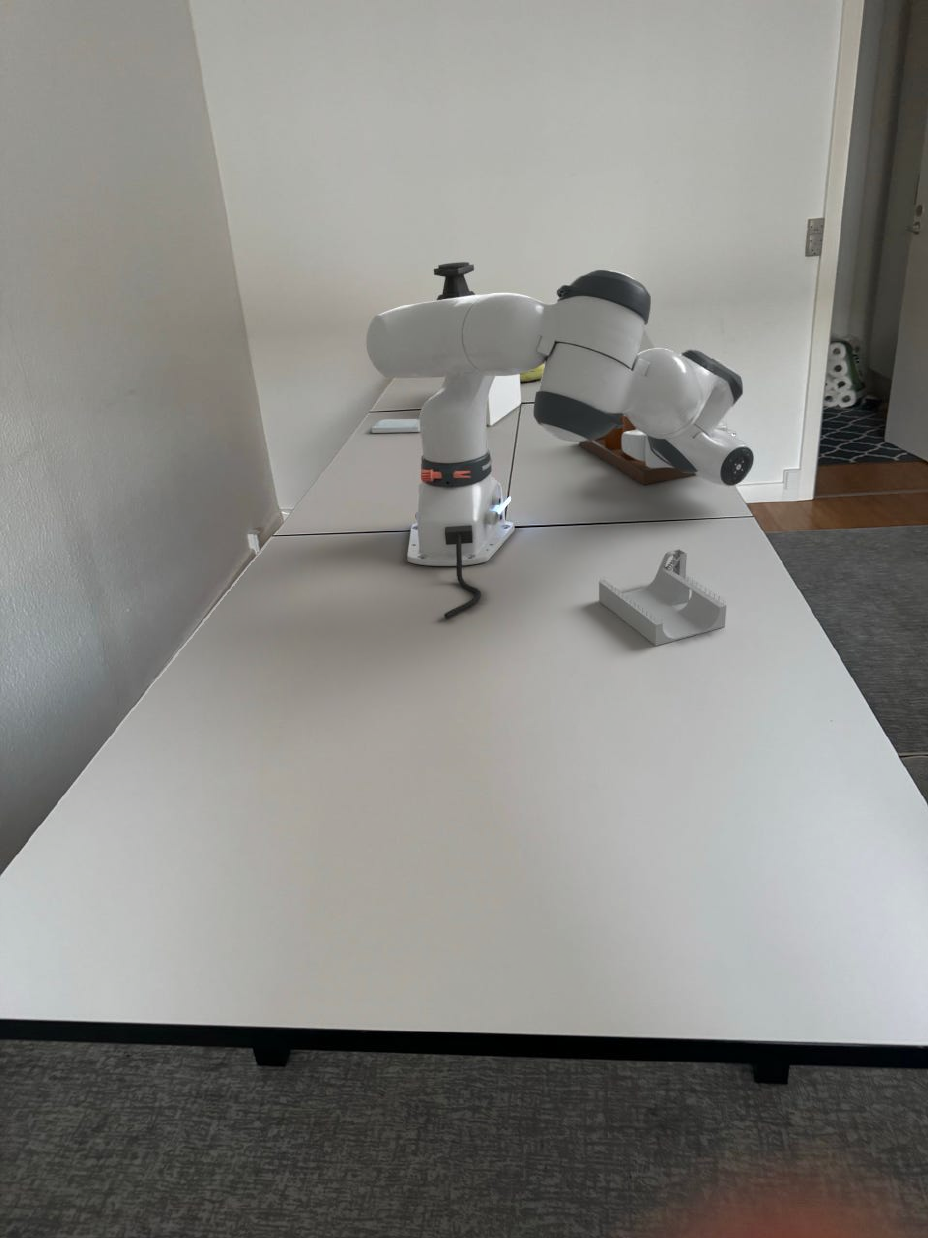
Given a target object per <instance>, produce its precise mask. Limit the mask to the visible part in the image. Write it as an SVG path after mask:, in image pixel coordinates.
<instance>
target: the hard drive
mask: <svg viewBox="0 0 928 1238" xmlns="http://www.w3.org/2000/svg"><path fill="white" fill-rule="evenodd" d="M371 432H372V434H386V433H387V434H390V433H391V434H392V433H394V434H395V433H396V434H397V433H421V430H420V421H419V418H395V419H394V418H391V419H389V418H388V419H386V418H385V419H380V420H378V421H377V423H376V424H374V425H372V427H371Z"/></svg>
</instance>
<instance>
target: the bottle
mask: <svg viewBox="0 0 928 1238" xmlns="http://www.w3.org/2000/svg"><path fill="white" fill-rule="evenodd" d="M474 271H475V264H470V262H468V261H461V262H449V263H442V264H438V265H437V267H436V268H433V275H434V276H439V277H444V282H443V287H442V293H441V294H439V295H438V296H437V298H436V299H435V301H437V300H444V299H451V298H458V297H464V296H471V295H477V294H476V292H474V291H473V290H470V289H469V286H468V283H467V280H466V277H465V275H466V274H469V273H471V272H474Z"/></svg>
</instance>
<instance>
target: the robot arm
mask: <svg viewBox="0 0 928 1238" xmlns="http://www.w3.org/2000/svg"><path fill="white" fill-rule="evenodd" d="M556 295H557V297H558V299H557V300H556V302H554V303H547V302H543V301H541V300H538V299H537V298H534V297H532V296H529V295H525V294H521V293H515V292H494V293H487V294H476V295H471V296H464V297H458V298H451V299H444V300H437V299H436V300H437V301H436V300H431V301H424V302H419V303H411V304H404V305H401V306H399V307H398V306H397V307H395V308H392V309H389V310H387V311H384V312H382V313H380V314H379V313H378V314H377V315H375V316H374V317H373V318H372V320H371V322H370V323H369V326H368V329H367V333H366V339H365V343H366V345H365V346H366V351H367V355H368V358H369V360H370V362H371V364H372V365H373V367H374V368H375V369H376V371H377V372H379V373H380V374H381V376H383V377H385V378H389V379H428V378H429V379H431V378H444V380H443V382H442V384H441V386H440V388H439V389H438V391H437V392H435V393H434V394H433V395H432V396H430V397H429V398H428V399H427V400H426V401H425V402H424V404H423V405H422V407H421V409H420V413H419V417H418V419H419V421H420V430H421V431H420V439H421V446H422V455H421V462H420V481H421V482H420V484H419V485H418V493H419V494H418V504H417V512H415V514H414V515H415V519H416V521H417V522H415V523H413V524H412V525H411V526H410V531H409V538H408V539H409V540H408V546H407V553H406V561H407V562H409V563H411V564H415V565H422V566H430V567H431V566H432V567H456V578H457V582H458V583H459V585H460V586H461V587H462V588H463V589H464V590H466V591H468V592H470V593H473V594H474V597H473V598H471V599H470V600H468V601H467V602H465V603H463V604H460V605H459V606H457V607H455V608H453V609H451V610H449V611H446V613H444V615H443V616H444V618H445V619H446V620H448V619H450V618H452V617H453V616H455V615H457V614H459V613H462V612H464V611H466V610H467V609H469V608H472V607H473V606H475V605H476V604H477V603H478V602H479V601H480V599H481V597H482V593H481V590H480V589H478V588H476V587H474V586H471V585H469V584H468V583H466V582H465V580H464V577H463V566H470V565H478V564H482V563H486V562H488V561H489V560H491V558H492V557H493V556H494V555H495V554H496V553H497V551H498V550H499V549H500V548H501V547H502V545H504V543H505V542H506V541H507V540H508V539H509V538H510V537H511V535H512V534H513V533H514V531H515V530H516V528H515V523H514V522H512V521H509V520H506V516H505V508H506V507H507V506H508V504H509V503H510V502H511V500H512V498H511V496H509V497H507V499H506V500H505V501H504V498H503V496H504V495H503V488H502V484H501V483H500V482H499V481H498V480H496V478H495V477H494V476H493V475H492V457H491V452H490V449H489V448H488V439H487V437H488V436H487V435H488V434H487V425H486V407H487V400H488V395H489V392H490V388H491V386H492V383H493V381H494V378H495V376H511V375H517V374H521V373H525V372H528V371H531V370H533V369H536V368H537V367H539V366H541V365H542V364H545V367H544V371H543V375H542V378H540V385H539V390H538V391H535V394H534V395H535V396H534V402H533V418H534V419H535V421H536V423H537V424H538V425H539V426H541V427H542V428H543V429H544V430H545V431H546V432H547V433H548V434H549V435H551V436H552V437H555V438H556V439H559V440H561V441H565V442H571V443H579V442H583V441H586V442H591V441H594V440H596V439H599V438H601V437H603V436H605V435H606V434H608V433H609V432H610V431H611V430H612V429H613V428H621V427H622V426H623V425H624V423H623V422H622V421H620V420H619V419H620V418H621V417H622V416H623V415H626V416H627V417H628V419H629V420H630V422H631V423H632V424H633V425H634V426H635V427H636V430H632V431H626V432H624V433H623V434H622V450H623V452H625V453H626V454H627V455H629V456H631V457H633V458H634V459H637V460H639V461H645V462H646V466H647V467H649V468H676V469H678V470H680V471H681V472H683V473H695V474H696V475H695V476H697V477H699V478H701V479H703V480H705V481H707V482H709V483H712V484H715V485H718V486H722V487H734V486H736V485H739V484H740V483H741V482H743V481H744V480H745V478H746V477H747V476H748V475H749V473H750V472H751V470H752V468H753V465H754V460H755V455H754V451H753V449H752V448H751V446H749V445H748V444H747V443H746V442H745V441H743V440H742V439H740V438H739V437H737V432H736V431H735V430H732V429H729V424H727V423H726V422H725V421H724V418H725V417H726V416H727V414H728V413H729V412H730V410H731V409H732V408H733V407H734V406H735V405H736V403H737V402H738V401H739V399H740V398H741V397H742V396H743V394H744V386H743V379H742V377H741V375H740V374H739V372H738V371H737V370H736V369H735V368H734V367H733V366H731V365H730V364H728V362H725V361H724V360H721V359H718V358H715V357H710V356H708V355H707V354H705V353H703V352H701V351H700V350H697V349H692V348H689V349H686V350H685V351H683V352H681V353H680V354H679V353H677V352H675V351H673V350H670V349H668V348H663V347H653V348H649V349H645V350H643V351H640V352H639V349H640V346H641V341H642V339H643V334H644V331H645V330H644V329H645V326H646V325H647V324H648V323H649V319H650V312H651V304H652V297H651V295H650V293H649V291H648V289H647V288H646V287H645V285H643V284H642V283H641V282H640V281H638V280H636V279H635V278H633V277H632V276H631V275H629V274H626V273H623V272H621V271H617V270H607V269H595V270H592V271H589V272H587V273H585V274H582V275H580V276H578V277H577V278H575V279H574V280H573V281H572V282H571V283H570V284H569V285H568V284H563V285H560V286H559V288H558V289H557V290H556ZM638 352H639V353H638Z"/></svg>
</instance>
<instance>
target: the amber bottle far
mask: <svg viewBox="0 0 928 1238" xmlns="http://www.w3.org/2000/svg"><path fill="white" fill-rule="evenodd" d="M619 420H620V421H622V422H623V416H622V417H621V418H620V419H619ZM622 434H623V426H622V427H621V428H613V429H612V430H611V431H610V432H609V433H608V434H606V435H605V447H606V448H609V449H622Z"/></svg>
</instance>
